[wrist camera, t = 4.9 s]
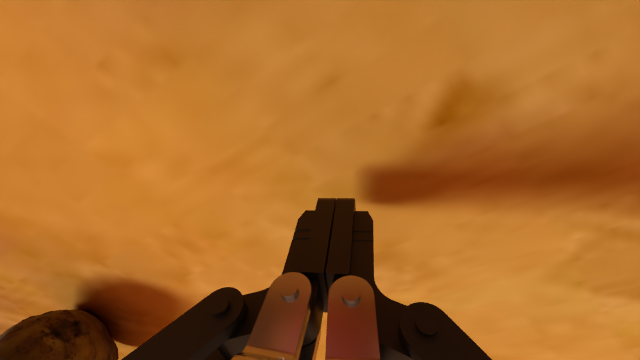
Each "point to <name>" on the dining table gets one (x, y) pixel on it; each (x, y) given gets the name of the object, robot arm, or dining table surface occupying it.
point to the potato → (58, 338)
